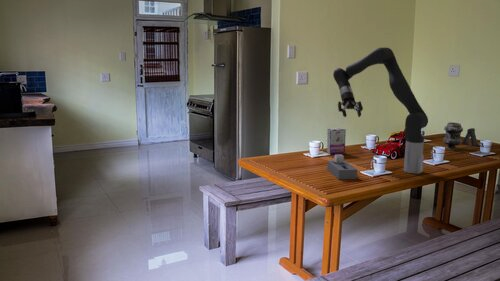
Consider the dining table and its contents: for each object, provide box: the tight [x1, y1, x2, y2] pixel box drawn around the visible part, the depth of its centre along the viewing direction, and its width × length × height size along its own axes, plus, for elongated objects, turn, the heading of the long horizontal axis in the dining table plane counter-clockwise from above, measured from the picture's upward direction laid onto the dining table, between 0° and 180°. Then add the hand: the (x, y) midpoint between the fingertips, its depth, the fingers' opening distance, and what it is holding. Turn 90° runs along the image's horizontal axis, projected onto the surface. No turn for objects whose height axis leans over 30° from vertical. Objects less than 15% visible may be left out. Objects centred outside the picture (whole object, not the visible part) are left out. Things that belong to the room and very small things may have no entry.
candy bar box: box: [326, 127, 347, 155], centre depth 278 cm, size 11×5×16 cm, turn 105°
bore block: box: [326, 160, 358, 180], centre depth 229 cm, size 10×20×5 cm, turn 7°
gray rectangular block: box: [333, 153, 345, 164], centre depth 234 cm, size 4×4×9 cm
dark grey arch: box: [461, 127, 479, 147], centre depth 305 cm, size 9×6×12 cm, turn 40°
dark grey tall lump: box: [442, 121, 464, 151], centre depth 291 cm, size 12×12×18 cm
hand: (352, 116), depth 246 cm, fingers open, 8 cm apart
